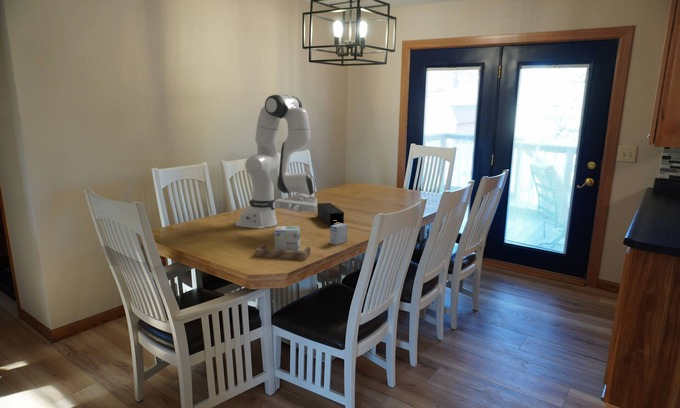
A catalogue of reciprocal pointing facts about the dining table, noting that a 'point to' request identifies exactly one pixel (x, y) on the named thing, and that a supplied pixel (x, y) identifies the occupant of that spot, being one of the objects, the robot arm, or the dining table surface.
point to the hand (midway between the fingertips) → (291, 208)
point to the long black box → (330, 213)
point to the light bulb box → (287, 238)
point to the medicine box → (338, 233)
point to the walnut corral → (282, 253)
